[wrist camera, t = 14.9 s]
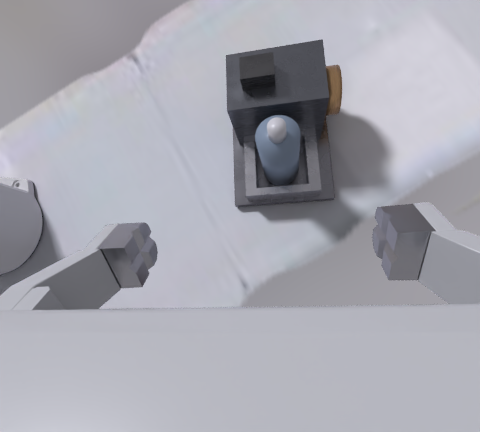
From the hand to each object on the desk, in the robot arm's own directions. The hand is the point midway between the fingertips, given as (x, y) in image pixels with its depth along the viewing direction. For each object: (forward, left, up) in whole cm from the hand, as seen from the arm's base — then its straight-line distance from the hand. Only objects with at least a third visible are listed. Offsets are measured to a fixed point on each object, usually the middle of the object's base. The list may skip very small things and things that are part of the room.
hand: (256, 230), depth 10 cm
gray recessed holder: (-5, +17, -29) cm, 34 cm away
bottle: (-4, +13, -29) cm, 32 cm away
